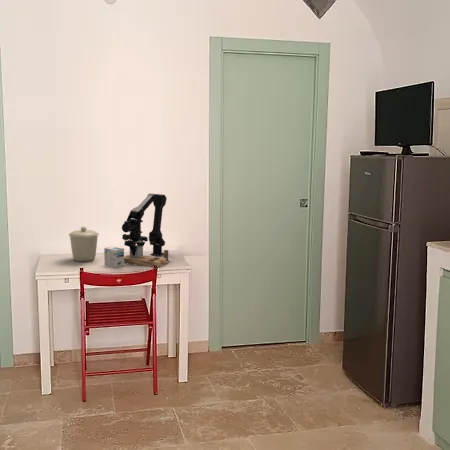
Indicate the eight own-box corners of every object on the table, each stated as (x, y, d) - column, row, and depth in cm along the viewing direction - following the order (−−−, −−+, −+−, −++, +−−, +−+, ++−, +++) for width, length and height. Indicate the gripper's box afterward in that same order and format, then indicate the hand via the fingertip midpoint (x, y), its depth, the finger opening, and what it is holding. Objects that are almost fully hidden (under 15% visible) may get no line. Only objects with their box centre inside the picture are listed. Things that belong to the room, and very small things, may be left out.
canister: (102, 257, 378) (102, 224, 374) (93, 263, 360) (93, 229, 356) (75, 255, 379) (74, 223, 376) (65, 262, 362) (64, 228, 358)
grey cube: (134, 254, 373) (134, 245, 372) (143, 255, 371) (142, 246, 370) (129, 256, 368) (129, 247, 366) (138, 257, 365) (137, 248, 364)
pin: (165, 260, 372) (165, 249, 370) (169, 261, 371) (169, 250, 369) (163, 261, 369) (163, 250, 368) (167, 262, 368) (167, 251, 367)
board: (131, 258, 375) (130, 246, 374) (167, 263, 365) (167, 250, 364) (120, 262, 364) (120, 250, 363) (157, 267, 354) (157, 254, 353)
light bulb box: (124, 265, 358) (124, 248, 356) (116, 267, 352) (116, 250, 350) (112, 262, 364) (111, 245, 362) (104, 265, 358) (103, 247, 356)
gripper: (132, 226, 378) (133, 250, 380) (116, 231, 361) (117, 256, 364) (148, 228, 373) (148, 252, 376) (132, 233, 356) (132, 258, 359)
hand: (136, 254), depth 369 cm, fingers closed on grey cube, 6 cm apart
